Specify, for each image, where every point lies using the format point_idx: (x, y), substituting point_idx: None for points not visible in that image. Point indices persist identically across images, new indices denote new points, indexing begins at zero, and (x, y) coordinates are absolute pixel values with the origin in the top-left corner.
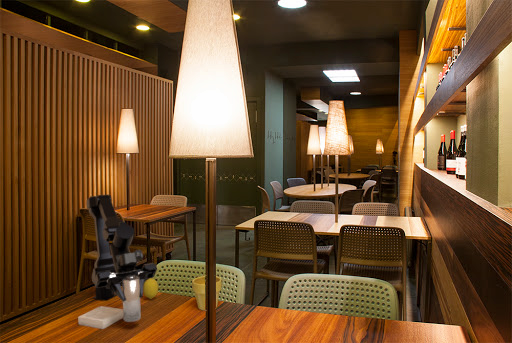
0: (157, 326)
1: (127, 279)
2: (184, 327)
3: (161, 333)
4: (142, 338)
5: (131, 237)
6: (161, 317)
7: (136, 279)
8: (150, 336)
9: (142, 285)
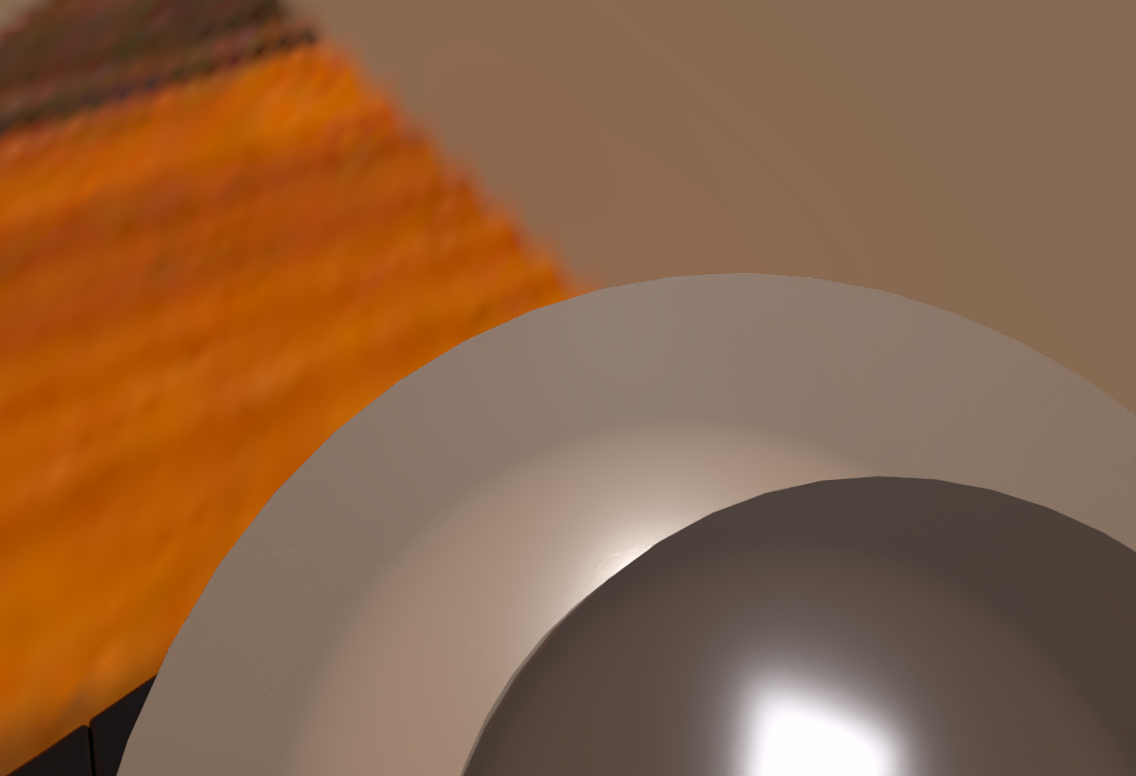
0: (280, 476)
1: None
2: (78, 199)
3: (377, 263)
4: None
5: None
6: (13, 739)
7: (538, 480)
8: (513, 289)
9: (128, 729)
